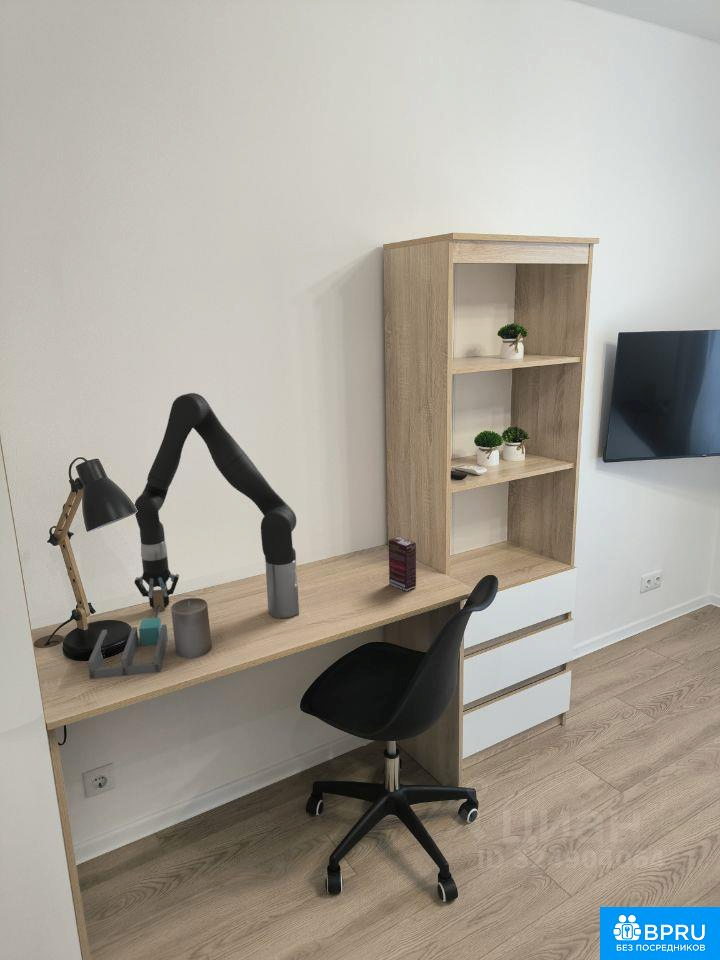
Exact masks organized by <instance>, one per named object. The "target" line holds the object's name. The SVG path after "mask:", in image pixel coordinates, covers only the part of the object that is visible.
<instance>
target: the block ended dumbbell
mask: <svg viewBox="0 0 720 960" xmlns="http://www.w3.org/2000/svg"><path fill="white" fill-rule="evenodd" d="M163 597H164V595H163V592H162V590H161V589H154V591H153V602H154V610H153V611H154V617H153V618H144V619H141V622H140V626H139V627H138V631H139V640H140V646H147V645H157V642H158V638H159V634H160V630H161V627H162V624H161V623H162V622H161V618H160V617H159V615H160V612H165V611H166V608H164V599H163Z"/></svg>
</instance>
